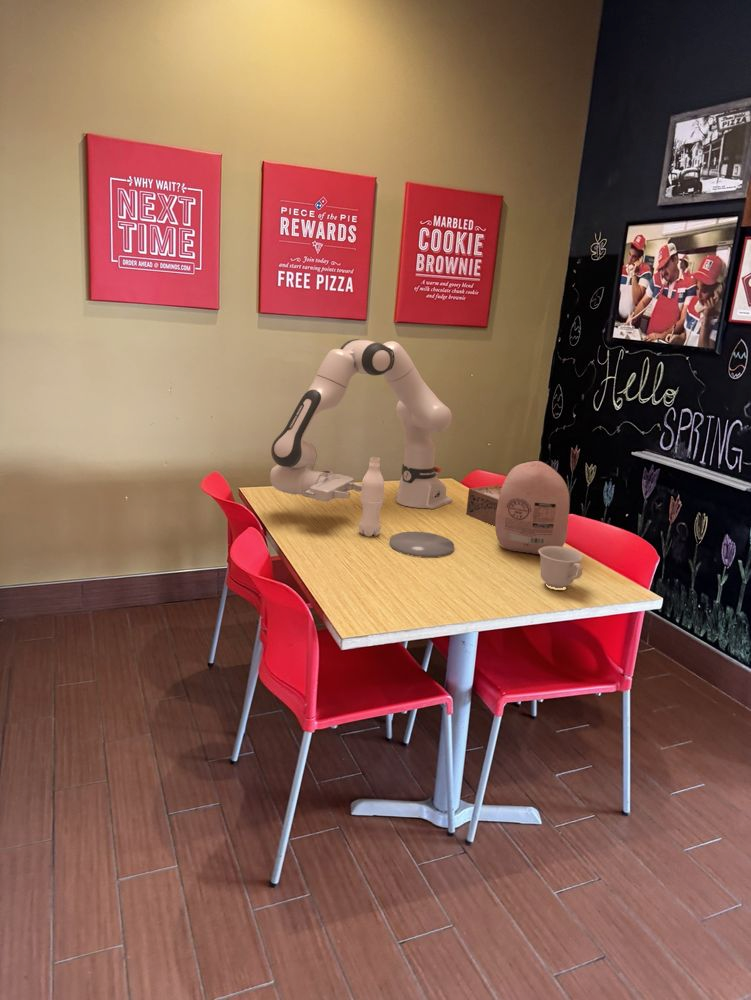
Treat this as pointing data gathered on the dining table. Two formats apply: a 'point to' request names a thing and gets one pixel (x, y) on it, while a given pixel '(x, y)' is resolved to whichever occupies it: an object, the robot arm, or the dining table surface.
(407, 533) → the plate
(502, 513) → the packaged food
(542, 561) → the teacup
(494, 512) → the tissue box cover
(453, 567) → the dining table surface
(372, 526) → the water bottle
